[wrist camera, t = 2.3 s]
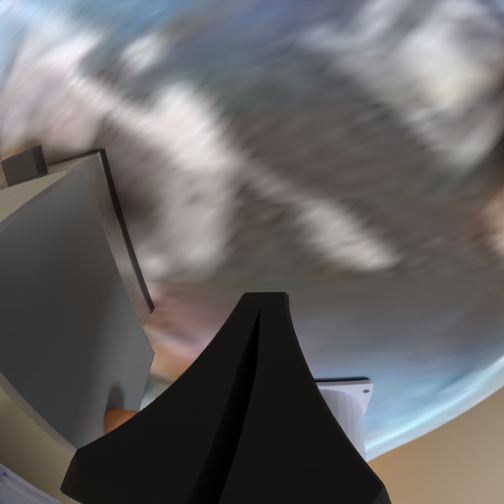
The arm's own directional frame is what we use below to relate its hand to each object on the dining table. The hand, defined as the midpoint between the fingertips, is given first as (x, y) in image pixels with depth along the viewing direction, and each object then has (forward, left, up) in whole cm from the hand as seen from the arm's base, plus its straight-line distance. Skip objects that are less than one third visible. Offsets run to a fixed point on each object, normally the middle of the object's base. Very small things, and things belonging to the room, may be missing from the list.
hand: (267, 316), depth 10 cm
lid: (0, +8, +1) cm, 8 cm away
